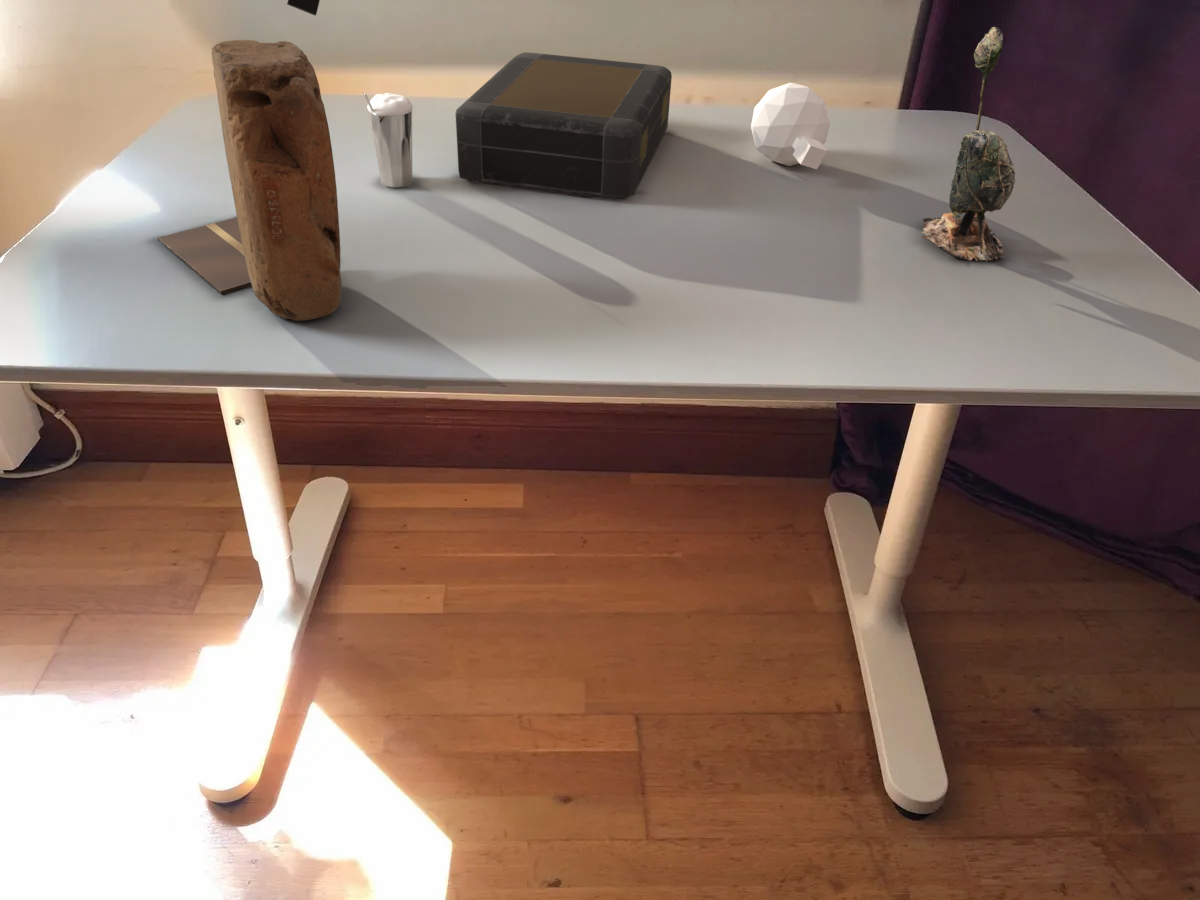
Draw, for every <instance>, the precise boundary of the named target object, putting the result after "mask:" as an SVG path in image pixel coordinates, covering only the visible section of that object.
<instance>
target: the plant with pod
mask: <svg viewBox="0 0 1200 900" xmlns="http://www.w3.org/2000/svg"><path fill="white" fill-rule="evenodd" d="M1003 38H1004V34H1003V31H1001V29H1000V28H999V27H997V26H993V27H991V28H990V29H989V31H987V32H986V33H985V34H984V35H983V38H982V39H981V40H980V42H978V43H977V46H976V48H975V50H974V53H973V59H974V63H975V64H974V66H975V68H977V69H978V70H979V72H981V73H982V76H981V89H980V100H979V101H980V102H979V105H978V108H979V110H978V114H977V122H976V124H975V125H976V126H975V130H973V131H972V132H969V133H968V134H965V135H963V137H962V141H960V144H961V145H960V149H959V151H958V156H957V160H956V163H955V171H954V175H953V179H952V180H951V185H950V186H951V189H950V193H949V205H948V206H949V209H950V212H947V213H945V212H944V213H943V214H942V216H941V217H937V218H936V217H934V218H931V217H925V218H923V219H922V221H923V222H922V224H923V229H922V232H921V234H923V235H922V238H923V239H924V240H928V241H930V242H931V243H933V244H934V245H935V246H936V247H938V248H940V247H941V248H942V250H943V251H944V252H946V253H948V254H949V255H950V256H953V257H955V258H957V259H958V258H959V260H960V259H962V260H967V261H970V262H971V261H972V260H973V259H975V261H976V262H978V261H986V262H988V261H993V260H994V259H995V260H998V259H999V258H1003V257H1004V256H1005V251H1004V250H1003V248H1004V247H1003V244H1002V241H1003V240H1002V239H998V238H997V237H996V233H993V229H992V228H990V227H989V224H988V223H987V221H986V215H985V214H986V212H990V213H992V212H994V211H1000V210H1001V209H1002V208H1003V207H1004V205H1005V204H1006V203H1007V202H1008V200H1009V198H1010V196H1011V195H1012V193H1013V190H1014V188H1015V184H1016V172H1015V165H1014V164H1015V163H1014V162H1013V161H1012V159H1011V157H1010V153H1009V150H1008V146H1007V143H1005V141H1004V139H1003V138H1002V136H1000V135H999V134H997V132H994V131H990V130H987V129H980V126H981V119H982V114H983V107H984V94H985V89H986V87H987V85H988V79H989V74H991V73H992V72H993V71H995V68H996V67H997V65H998V61H999V59H1000V56H1001V54H1002V53H1001V52H1002V49H1003Z"/></svg>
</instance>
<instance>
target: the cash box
mask: <svg viewBox="0 0 1200 900" xmlns="http://www.w3.org/2000/svg"><path fill="white" fill-rule="evenodd" d="M672 79H673V77H672V72H671V70H670V69H669V68H667V67H666V66H663V65H658V64H647V63H637V62H630V61H629V62H628V61H618V60H609V59H599V58H598V59H597V58H590V57H577V56H571V55H570V56H569V55H558V54H550V53H539V52H522V53H519V54H517V55H515V56H514V57H513V58H512V59H510V60H509V61H508V62H507V63H506V64H504V66H503V67H502V68H500V69H499V70H498V71H497V72H496V73H495V74H494V75H493V76H491V78H489V79H488V80H487V81H486V82H485V83H484V84H483V85H482V86H480V87H479V88H478V90H476V91H475V92H474V93H472V95H470V97H468V98H467V99H466V100H465V101H464V102H463V103H462V104H461V105H460V106H459V107H458V108H456V109H455V129H456V130H455V132H456V148H457V149H456V150H457V152H456V153H457V169H458V175H459V178H460V179H463V180H465V181H469V182H471V183H472V182H473V183H481V184H486V185H496V186H503V187H513V188H520V189H528V190H529V189H530V190H536V191H537V190H538V191H544V192H553V193H561V194H570V195H576V196H577V195H579V196H586V197H593V198H602V199H610V200H625V199H629V198H630V197H632V196H634V195H635V194H636V192H637V190H638V187H639V185H640V183H641V182H642V179H643V177H644V175H645V174H646V171H647V170H648V167H649V166H650V163H651V161H652V159H653V157H654V156H655V154H656V152H657V149H658V147H659V146H660V145H661V141H662V140H663V138H664V136H665V134H666V133H667V130H668V127H669V115H670V103H671V90H672Z"/></svg>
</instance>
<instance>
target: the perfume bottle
mask: <svg viewBox="0 0 1200 900" xmlns="http://www.w3.org/2000/svg"><path fill="white" fill-rule="evenodd" d="M752 113H753V114H752V119H751V124H750V128H751V133H752V137H753V138H752V139H753V142H754V146H755V149H756V150H757V151H758V152H760V153H761V154H762V155H764V156H765V157H766V158H767V159H768V160H770V161H772V162H775V163H777V164H781V165H784V166H787V167H792V166H795V165H798V164H800V166H804V167H808V168H811V169H814V170H818V169H819V167H820V165H821V164H822V161H823V160H824V158H825V156H826V154H827V153H828V149H827V148H826V147H825V146H824V145H825V143H826V142H827V138H828V134H829V131H830V130H829V129H830V125H831V121H830V116H829V112H828V107H827V104H826V101H825V99H824V98H822V97H821V96H820V95H819V94H817V92H816V91H815V90H813V89H812V88H811V86H810V87H809V86H806V85H802V84H798V83H794V82H789V83H788V82H787V83H785V84H782V85H779V86H777V87H773V88H771V89H768V91H767V92H766V93H765V94H764V95H763V97H762V98H761V99H760V101H759V102H757V104H756V105H755V106H754V108H753V112H752Z"/></svg>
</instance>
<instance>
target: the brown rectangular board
mask: <svg viewBox="0 0 1200 900" xmlns="http://www.w3.org/2000/svg"><path fill="white" fill-rule="evenodd" d="M157 240H158V241H159V243H160V244H162V245H163V246H164V247H165V248H167V249H168V250H169V251H170V252H171V253H172V254H173V255H175V256H176V257H177V258H178V259H179V260H181V261H182V262H183V263H184V264H185V265H187V266H188V267H189V269H191V271H193V272H194V273H195V274H197V275H198V276H199V277H200V278H201V279H203V281H205V282H206V283H207V284H209V285H210V286H211V287H212V288H213V289H215V291H217V292H218V293H219V294H220V295H223V294H227V293H230V292H234V291H237V290H240V289H244V288H247V287H252V285H251V281H250V278H249V274H248V270H247V265H246V260H245V255H244V251H243V246H242V241H241V235H240V230H239V225H238V219H237V216H236V217H232V218H228V219H225V220H220V221H217V222H213V223H208V224H205V225H201V226H197V227H192V228H190V229H185V230H182V231H177V232H174V233H170V234H166V235H162V236H158V237H157Z"/></svg>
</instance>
